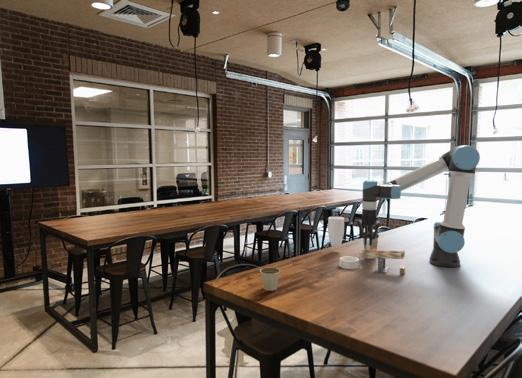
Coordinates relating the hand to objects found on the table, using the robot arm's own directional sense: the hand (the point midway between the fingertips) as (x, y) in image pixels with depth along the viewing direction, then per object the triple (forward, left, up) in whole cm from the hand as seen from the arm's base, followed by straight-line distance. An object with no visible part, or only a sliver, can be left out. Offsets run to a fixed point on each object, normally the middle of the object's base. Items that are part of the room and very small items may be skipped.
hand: (368, 250), depth 200 cm
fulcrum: (-13, +7, -8) cm, 17 cm away
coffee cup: (+1, -14, -8) cm, 16 cm away
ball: (-5, +7, +2) cm, 9 cm away
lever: (-9, +4, 0) cm, 9 cm away
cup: (+23, -19, -8) cm, 31 cm away
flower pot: (+32, +56, -8) cm, 66 cm away
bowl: (+8, +7, -8) cm, 14 cm away
